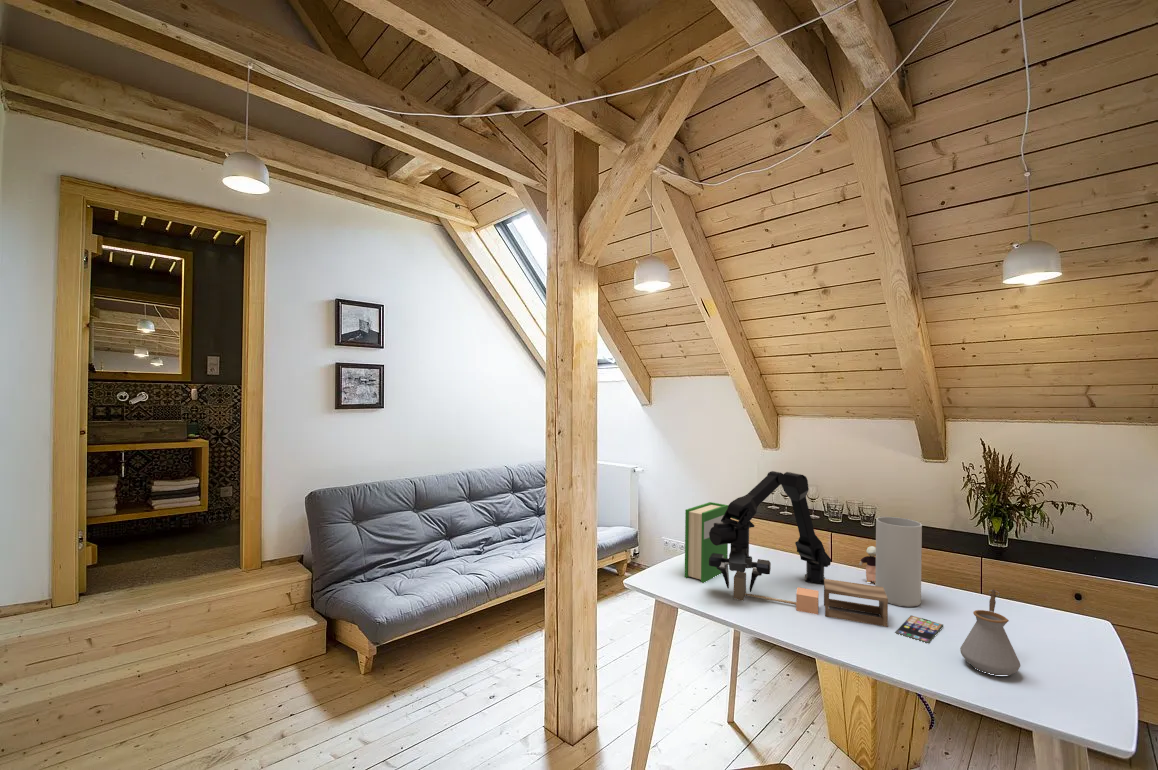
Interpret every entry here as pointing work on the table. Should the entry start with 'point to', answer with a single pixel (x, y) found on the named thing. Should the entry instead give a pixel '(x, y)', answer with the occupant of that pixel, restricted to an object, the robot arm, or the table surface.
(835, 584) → the shelf lane
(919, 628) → the smartphone
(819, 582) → the robot arm
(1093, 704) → the table surface
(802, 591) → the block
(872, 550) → the grandmother figurine
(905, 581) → the cylinder vase
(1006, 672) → the coffee pot
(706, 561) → the hardback book
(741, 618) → the table surface
